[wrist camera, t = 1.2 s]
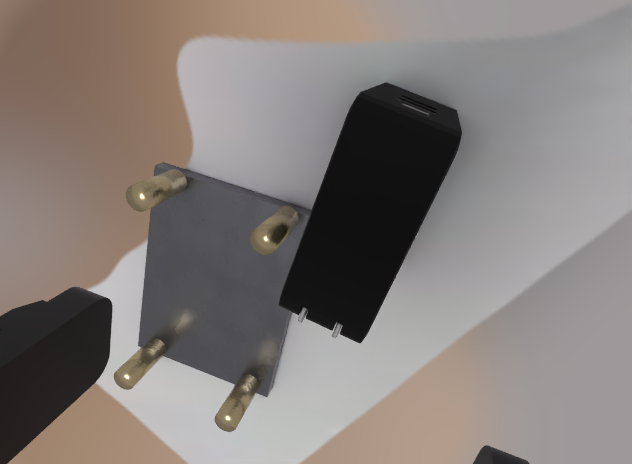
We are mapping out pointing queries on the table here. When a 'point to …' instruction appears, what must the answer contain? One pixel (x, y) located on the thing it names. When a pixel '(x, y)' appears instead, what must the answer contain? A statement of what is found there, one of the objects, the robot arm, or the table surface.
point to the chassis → (214, 282)
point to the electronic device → (370, 207)
